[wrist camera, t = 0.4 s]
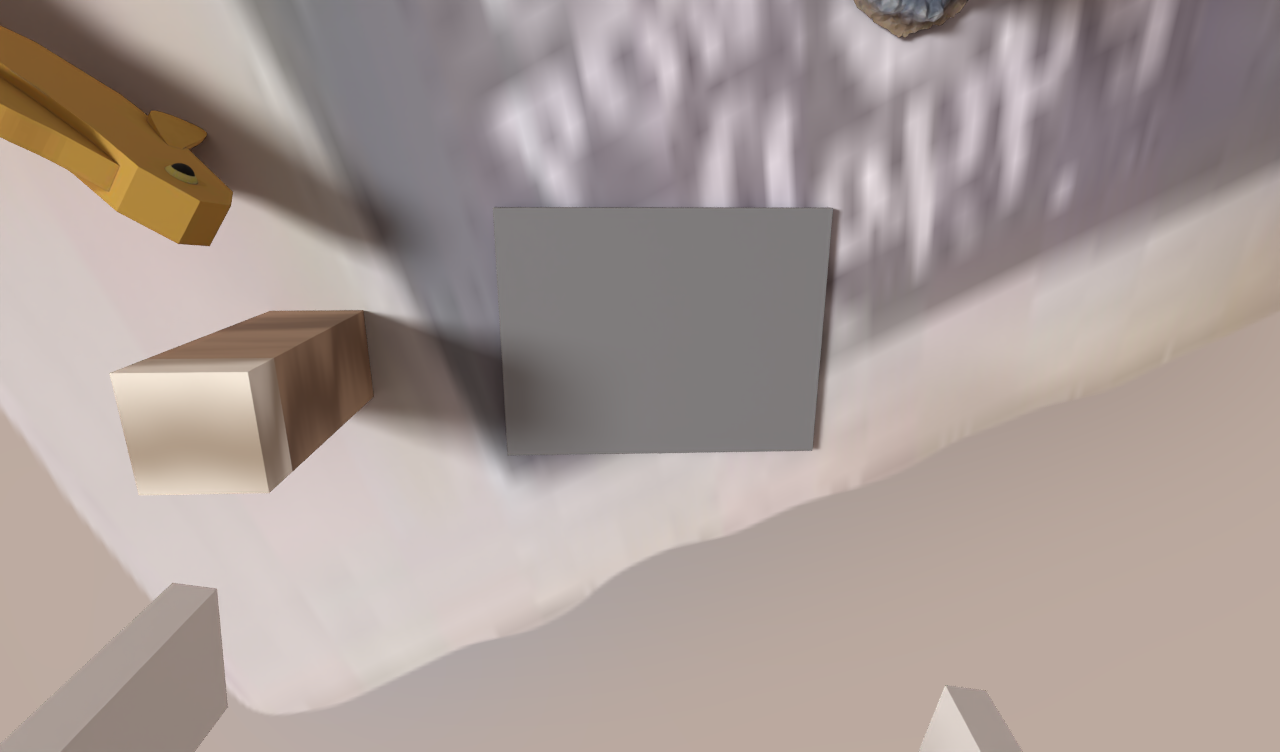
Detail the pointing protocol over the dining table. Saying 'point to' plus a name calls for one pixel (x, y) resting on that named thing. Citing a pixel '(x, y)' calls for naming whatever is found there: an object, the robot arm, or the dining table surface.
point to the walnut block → (242, 402)
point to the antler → (909, 13)
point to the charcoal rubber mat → (660, 328)
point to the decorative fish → (109, 143)
